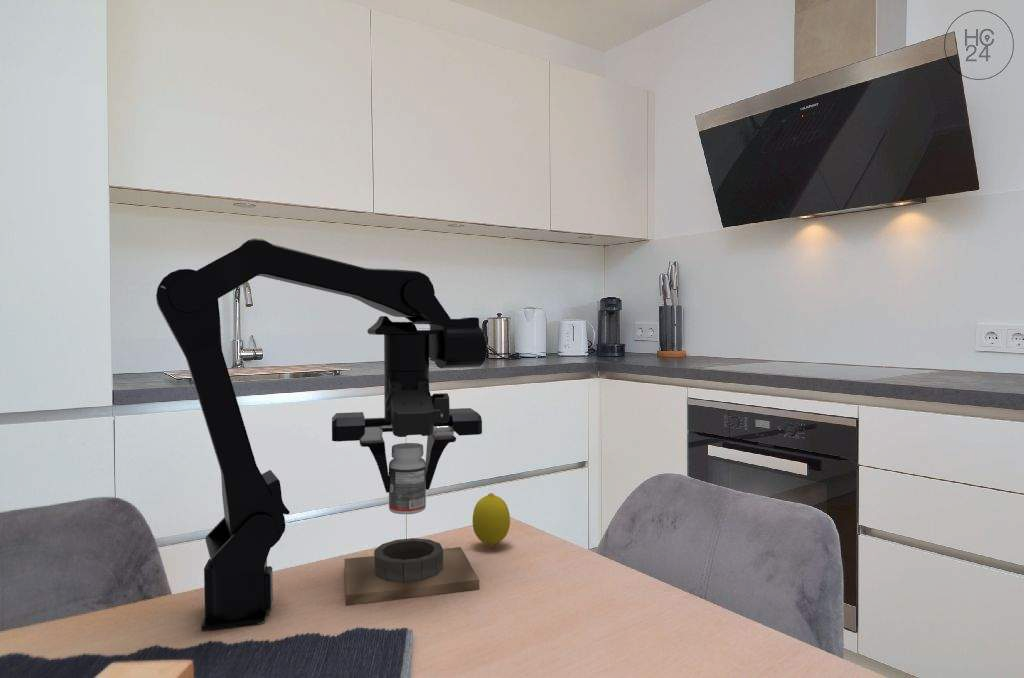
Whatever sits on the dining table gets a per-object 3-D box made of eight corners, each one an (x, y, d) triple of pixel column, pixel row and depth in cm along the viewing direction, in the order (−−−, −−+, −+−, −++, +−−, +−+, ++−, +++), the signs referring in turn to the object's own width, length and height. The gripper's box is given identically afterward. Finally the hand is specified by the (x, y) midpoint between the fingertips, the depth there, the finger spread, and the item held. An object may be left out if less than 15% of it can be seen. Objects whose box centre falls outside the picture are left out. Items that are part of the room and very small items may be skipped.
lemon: (509, 553, 91) (509, 498, 91) (471, 553, 91) (470, 498, 91) (510, 540, 97) (510, 488, 97) (474, 540, 97) (473, 488, 97)
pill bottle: (392, 504, 85) (391, 442, 85) (427, 504, 85) (427, 441, 85) (385, 515, 80) (385, 449, 80) (423, 515, 80) (423, 448, 80)
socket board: (346, 605, 75) (345, 574, 75) (344, 567, 87) (344, 540, 86) (479, 589, 79) (478, 559, 79) (460, 555, 91) (460, 529, 91)
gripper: (331, 376, 72) (332, 514, 72) (492, 373, 77) (492, 501, 77) (331, 369, 83) (332, 489, 83) (472, 367, 88) (473, 480, 88)
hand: (407, 490), depth 83 cm, fingers closed on pill bottle, 5 cm apart
